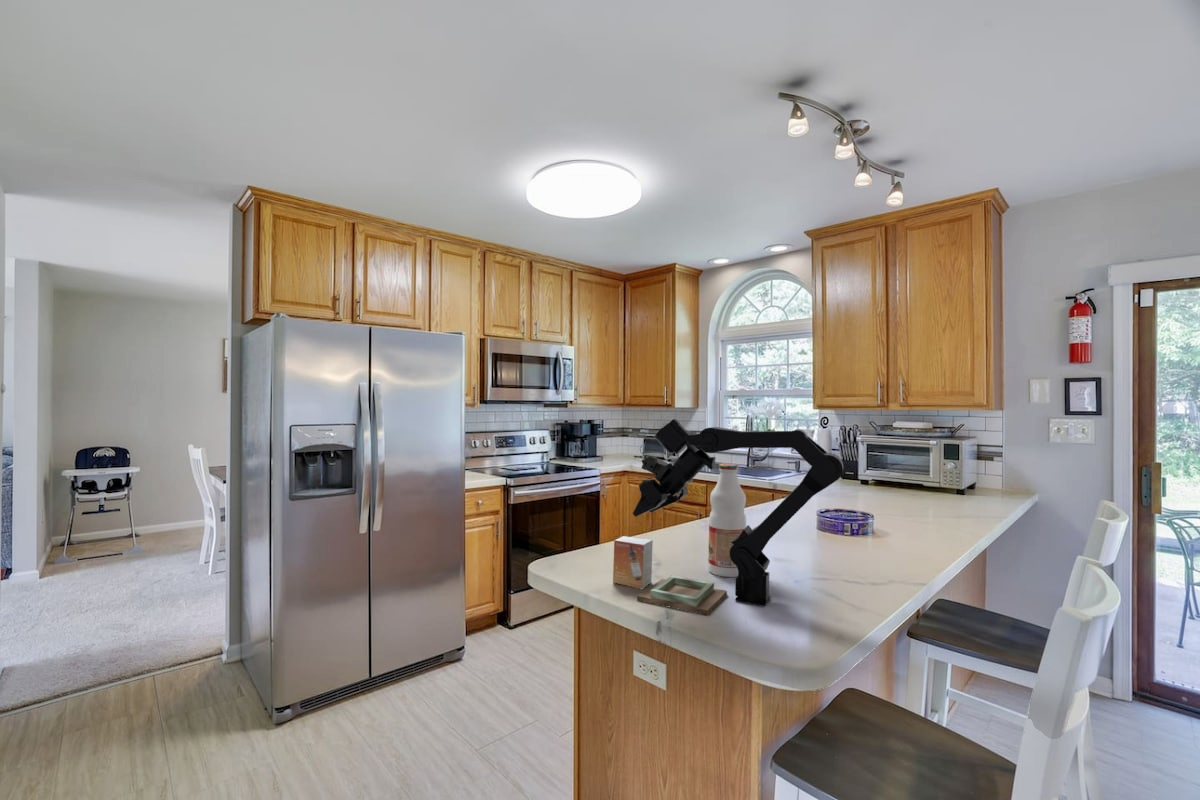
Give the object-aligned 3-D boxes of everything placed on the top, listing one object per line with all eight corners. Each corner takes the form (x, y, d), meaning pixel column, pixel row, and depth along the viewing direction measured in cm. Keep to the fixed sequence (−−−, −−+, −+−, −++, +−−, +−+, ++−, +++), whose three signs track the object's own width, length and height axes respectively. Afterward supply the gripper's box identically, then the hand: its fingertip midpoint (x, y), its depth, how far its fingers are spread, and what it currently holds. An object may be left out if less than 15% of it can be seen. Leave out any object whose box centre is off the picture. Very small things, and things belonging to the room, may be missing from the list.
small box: (612, 583, 134) (613, 540, 134) (622, 577, 139) (623, 535, 139) (643, 589, 130) (643, 544, 130) (652, 582, 135) (653, 539, 135)
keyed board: (726, 595, 127) (726, 584, 127) (707, 615, 115) (707, 603, 115) (661, 582, 135) (662, 572, 135) (637, 600, 123) (637, 589, 123)
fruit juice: (730, 580, 138) (732, 467, 138) (700, 571, 145) (702, 463, 145) (752, 573, 144) (754, 465, 144) (723, 564, 151) (725, 461, 151)
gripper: (675, 444, 142) (636, 485, 147) (646, 444, 126) (603, 491, 130) (705, 476, 138) (664, 518, 142) (680, 480, 122) (634, 528, 126)
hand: (642, 513), depth 135 cm, fingers open, 9 cm apart
